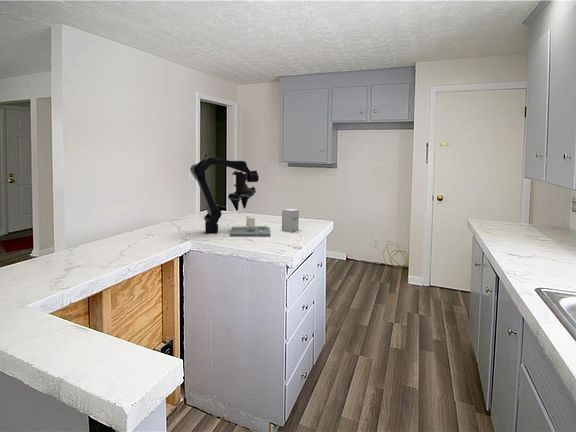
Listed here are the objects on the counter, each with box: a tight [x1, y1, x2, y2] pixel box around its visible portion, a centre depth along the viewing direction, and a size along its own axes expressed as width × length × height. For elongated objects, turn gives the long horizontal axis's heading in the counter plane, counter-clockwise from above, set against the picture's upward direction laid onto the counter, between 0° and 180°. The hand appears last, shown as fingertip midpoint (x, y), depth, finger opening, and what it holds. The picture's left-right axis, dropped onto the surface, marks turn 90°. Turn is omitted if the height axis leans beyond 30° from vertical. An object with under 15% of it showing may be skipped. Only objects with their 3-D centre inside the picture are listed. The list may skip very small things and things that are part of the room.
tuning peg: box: [245, 215, 268, 231], centre depth 209 cm, size 12×6×8 cm, turn 114°
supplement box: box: [281, 208, 300, 233], centre depth 216 cm, size 7×7×13 cm
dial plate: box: [229, 225, 271, 238], centre depth 208 cm, size 22×17×3 cm
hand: (240, 209), depth 215 cm, fingers open, 9 cm apart
